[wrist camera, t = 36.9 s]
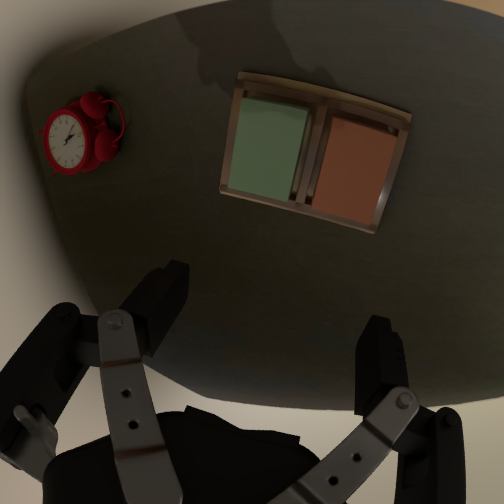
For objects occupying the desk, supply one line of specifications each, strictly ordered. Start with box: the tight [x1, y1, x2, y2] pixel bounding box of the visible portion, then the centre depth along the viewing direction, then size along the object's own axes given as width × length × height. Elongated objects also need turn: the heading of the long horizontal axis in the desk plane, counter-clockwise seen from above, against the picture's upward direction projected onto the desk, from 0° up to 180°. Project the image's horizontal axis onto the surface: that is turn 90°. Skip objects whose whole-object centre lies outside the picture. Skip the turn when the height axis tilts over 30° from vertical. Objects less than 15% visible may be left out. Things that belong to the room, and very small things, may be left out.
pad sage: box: [228, 97, 310, 202], centre depth 29 cm, size 9×6×4 cm, turn 170°
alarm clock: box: [38, 92, 125, 177], centre depth 34 cm, size 10×6×15 cm
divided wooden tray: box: [219, 71, 412, 234], centre depth 30 cm, size 14×18×2 cm
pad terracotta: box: [311, 114, 398, 225], centre depth 28 cm, size 9×6×4 cm, turn 170°
